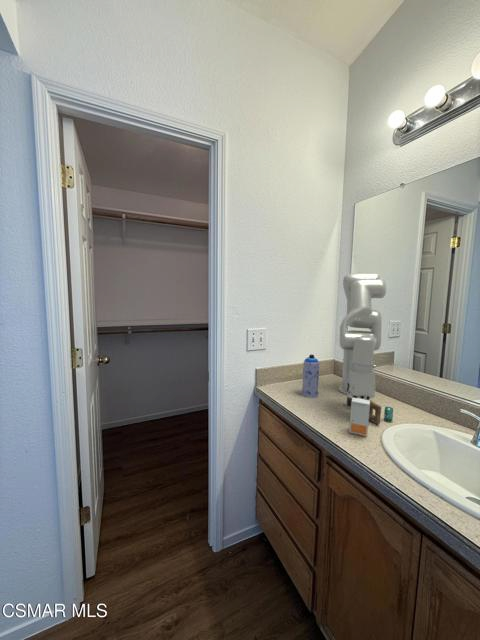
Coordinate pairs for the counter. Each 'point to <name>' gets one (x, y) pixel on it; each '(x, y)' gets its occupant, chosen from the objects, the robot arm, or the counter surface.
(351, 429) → the skincare box
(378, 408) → the gate
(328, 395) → the counter surface
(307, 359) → the aerosol can
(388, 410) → the teal elongated shape
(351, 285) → the robot arm
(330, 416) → the counter surface
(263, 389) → the counter surface
